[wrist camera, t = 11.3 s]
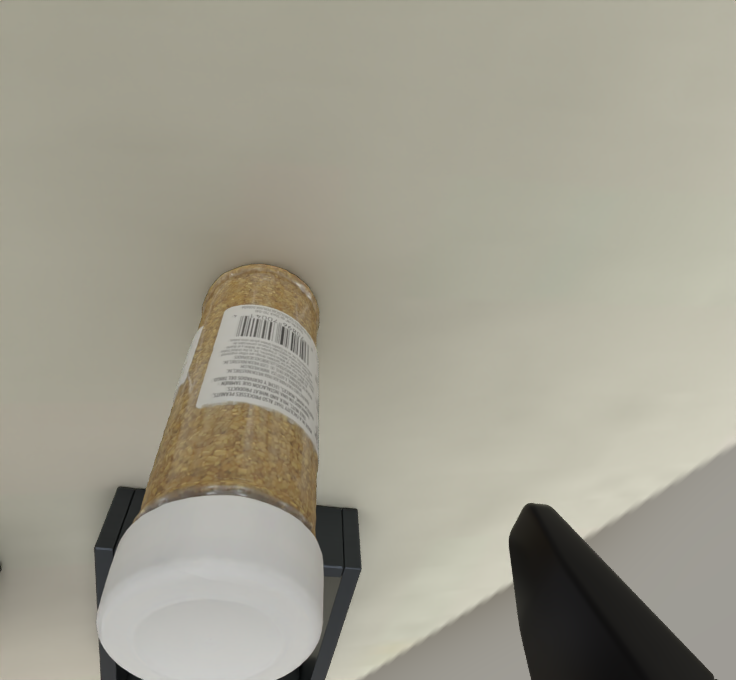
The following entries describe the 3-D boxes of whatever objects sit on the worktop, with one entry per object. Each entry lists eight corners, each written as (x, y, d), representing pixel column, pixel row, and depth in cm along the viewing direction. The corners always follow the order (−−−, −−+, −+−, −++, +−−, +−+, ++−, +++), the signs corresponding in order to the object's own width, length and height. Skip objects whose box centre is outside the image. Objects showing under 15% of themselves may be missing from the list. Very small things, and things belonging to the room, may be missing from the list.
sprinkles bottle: (180, 313, 23) (41, 652, 11) (258, 235, 21) (187, 536, 10) (269, 379, 25) (226, 724, 13) (345, 311, 23) (370, 636, 12)
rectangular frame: (120, 655, 35) (102, 718, 32) (117, 486, 28) (93, 548, 25) (311, 664, 37) (310, 724, 34) (357, 509, 30) (361, 569, 27)
